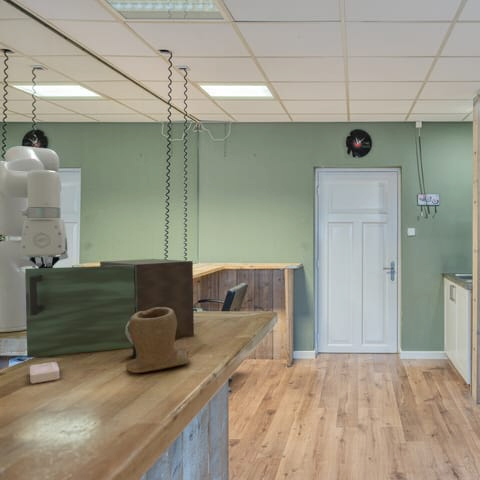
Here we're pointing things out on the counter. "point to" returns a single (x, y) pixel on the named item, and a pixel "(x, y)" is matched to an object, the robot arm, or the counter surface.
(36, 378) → the soap bar
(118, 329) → the cupboard door
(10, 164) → the robot arm
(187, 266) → the cupboard
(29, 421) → the counter surface
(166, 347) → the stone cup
